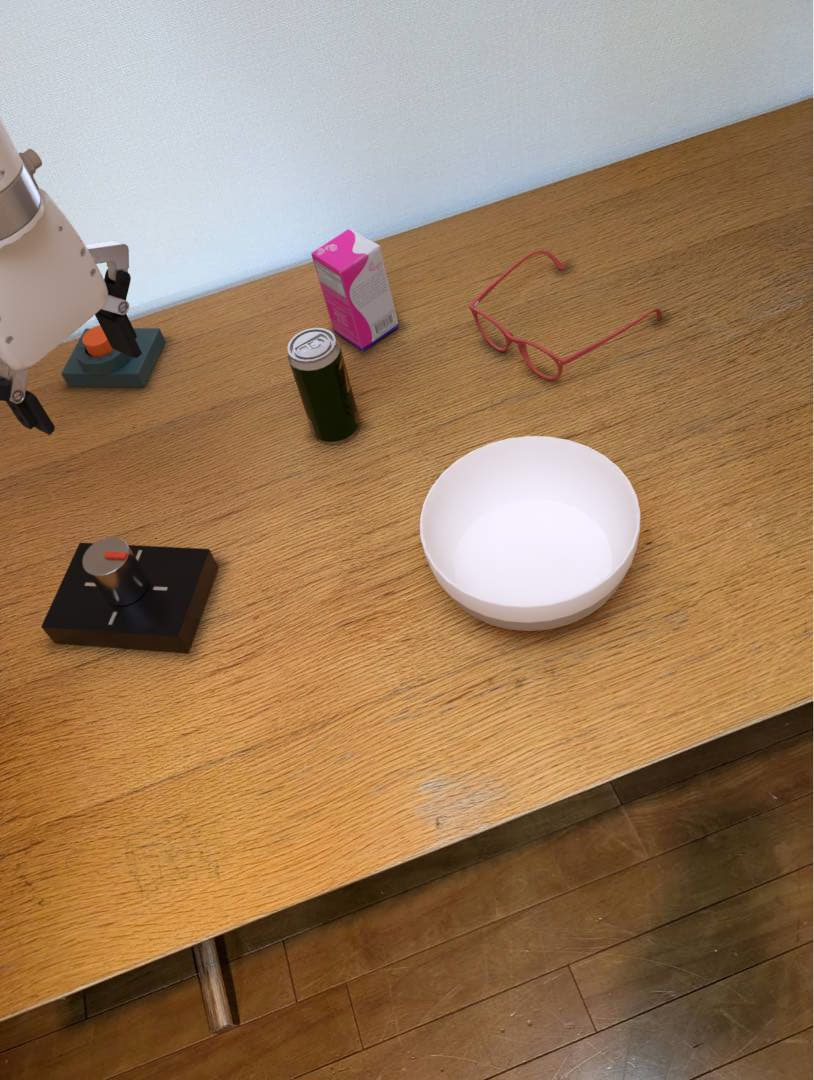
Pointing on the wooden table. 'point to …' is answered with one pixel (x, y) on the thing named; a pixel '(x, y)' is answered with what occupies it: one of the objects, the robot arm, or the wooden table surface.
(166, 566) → the knob panel
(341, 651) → the wooden table surface
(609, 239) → the wooden table surface
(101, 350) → the button
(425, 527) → the bowl
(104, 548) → the dark cylinder with disc
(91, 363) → the button block
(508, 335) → the red eyeglasses
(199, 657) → the wooden table surface
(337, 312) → the supplement box
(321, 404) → the beer can
